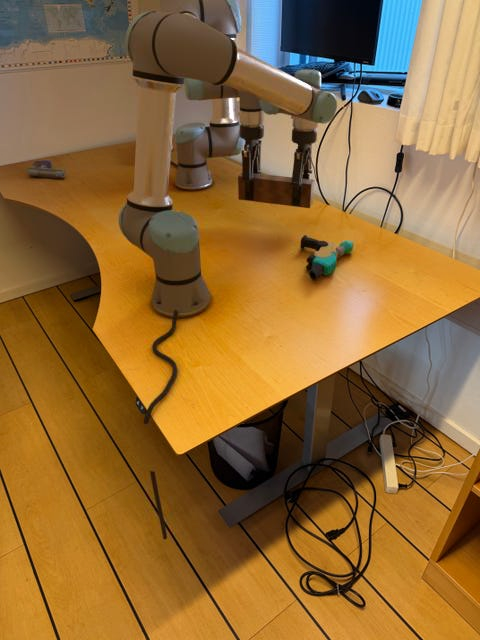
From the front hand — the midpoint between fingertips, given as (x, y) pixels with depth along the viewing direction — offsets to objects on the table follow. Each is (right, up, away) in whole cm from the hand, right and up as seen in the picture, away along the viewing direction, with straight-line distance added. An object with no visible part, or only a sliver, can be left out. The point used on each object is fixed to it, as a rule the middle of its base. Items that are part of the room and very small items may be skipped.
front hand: (300, 199), depth 155 cm
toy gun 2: (+3, -22, -13) cm, 26 cm away
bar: (-8, 0, +3) cm, 9 cm away
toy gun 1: (-103, +25, +54) cm, 119 cm away
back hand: (-16, +2, +5) cm, 17 cm away
